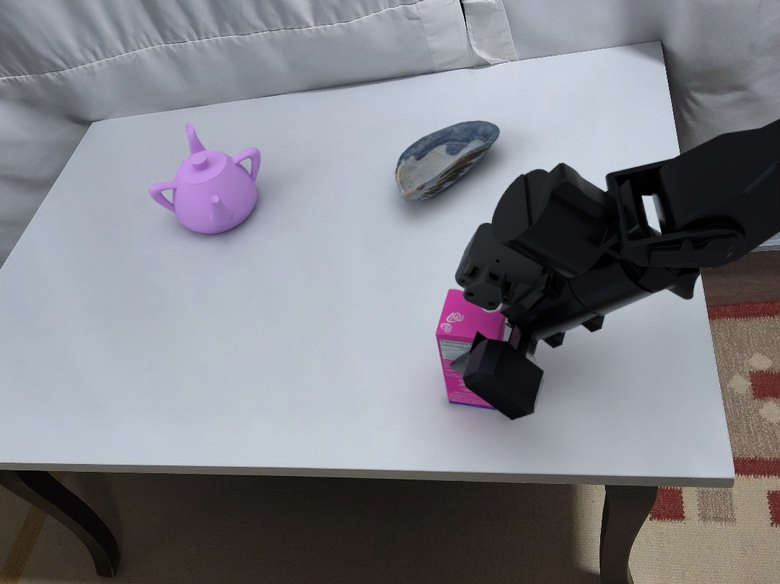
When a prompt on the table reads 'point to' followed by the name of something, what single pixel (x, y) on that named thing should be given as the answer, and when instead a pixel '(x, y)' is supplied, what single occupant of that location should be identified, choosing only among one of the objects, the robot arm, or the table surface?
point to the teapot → (211, 188)
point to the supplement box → (465, 340)
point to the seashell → (442, 158)
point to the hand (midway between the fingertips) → (462, 342)
